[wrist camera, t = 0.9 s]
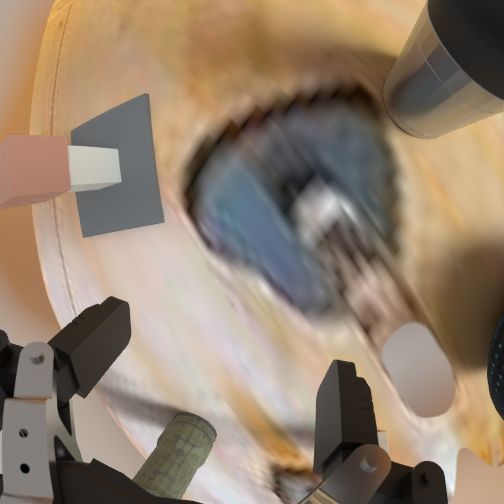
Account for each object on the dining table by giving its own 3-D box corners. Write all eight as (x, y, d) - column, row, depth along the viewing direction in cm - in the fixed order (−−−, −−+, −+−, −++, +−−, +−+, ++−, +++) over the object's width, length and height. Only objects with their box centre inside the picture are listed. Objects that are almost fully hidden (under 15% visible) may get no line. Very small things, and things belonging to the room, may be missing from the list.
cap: (40, 154, 26) (-11, 156, 18) (67, 137, 24) (10, 134, 17) (43, 201, 27) (-8, 211, 20) (71, 190, 25) (12, 197, 18)
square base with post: (74, 131, 36) (-15, 126, 20) (148, 94, 32) (47, 59, 15) (86, 236, 40) (-4, 264, 23) (164, 222, 35) (56, 253, 19)
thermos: (200, 405, 42) (89, 566, 9) (227, 447, 43) (150, 593, 10) (161, 405, 45) (52, 537, 12) (190, 446, 46) (108, 571, 13)
